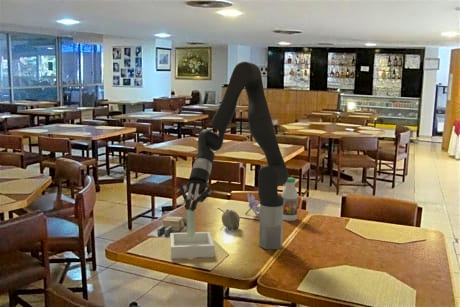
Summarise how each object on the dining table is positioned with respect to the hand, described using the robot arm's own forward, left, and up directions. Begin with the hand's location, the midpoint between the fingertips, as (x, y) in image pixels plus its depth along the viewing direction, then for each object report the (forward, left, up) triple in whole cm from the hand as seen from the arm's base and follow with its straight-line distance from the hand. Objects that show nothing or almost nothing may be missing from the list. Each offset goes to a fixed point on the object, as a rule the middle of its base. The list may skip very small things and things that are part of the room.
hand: (189, 209), depth 181 cm
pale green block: (+2, -1, -11) cm, 11 cm away
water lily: (+46, -35, -17) cm, 60 cm away
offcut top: (+28, +6, -14) cm, 31 cm away
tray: (+2, -1, -17) cm, 17 cm away
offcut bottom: (+28, +6, -16) cm, 32 cm away
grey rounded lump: (+27, -20, -17) cm, 37 cm away
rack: (+25, +7, -17) cm, 31 cm away
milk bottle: (+39, -50, -17) cm, 65 cm away
